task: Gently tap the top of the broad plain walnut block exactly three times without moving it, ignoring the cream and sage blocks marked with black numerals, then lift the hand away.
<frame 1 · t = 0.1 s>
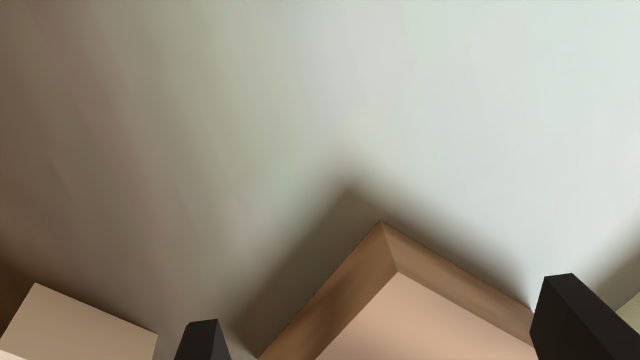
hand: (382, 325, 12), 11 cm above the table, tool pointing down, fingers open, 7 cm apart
plain walnut block: (392, 329, 27), on the table
numbered block one: (72, 346, 25), on the table
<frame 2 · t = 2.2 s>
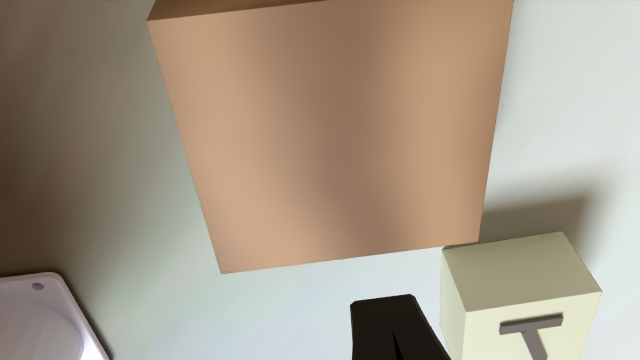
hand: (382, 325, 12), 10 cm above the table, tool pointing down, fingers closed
plain walnut block: (329, 93, 20), on the table
numbered block seven: (495, 277, 28), on the table
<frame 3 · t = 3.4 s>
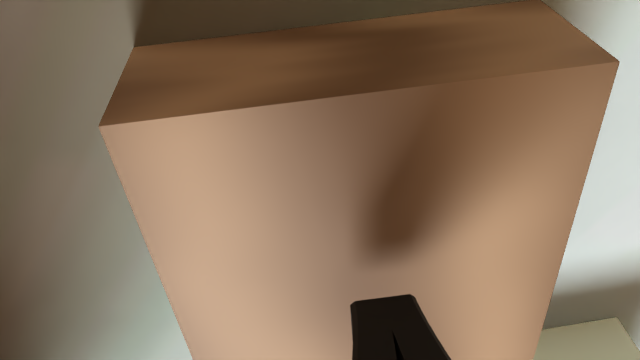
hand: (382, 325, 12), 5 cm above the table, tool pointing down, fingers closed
plain walnut block: (346, 175, 16), on the table
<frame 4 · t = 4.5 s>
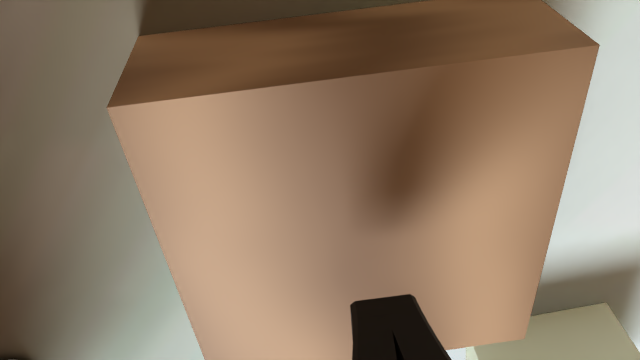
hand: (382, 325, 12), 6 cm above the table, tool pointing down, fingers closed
plain walnut block: (343, 161, 17), on the table
numbered block seven: (528, 351, 24), on the table
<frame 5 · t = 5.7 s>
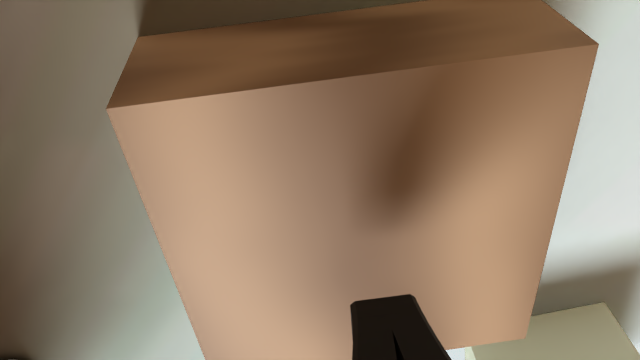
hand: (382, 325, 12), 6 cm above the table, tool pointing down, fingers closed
plain walnut block: (343, 161, 17), on the table
numbered block seven: (528, 351, 24), on the table
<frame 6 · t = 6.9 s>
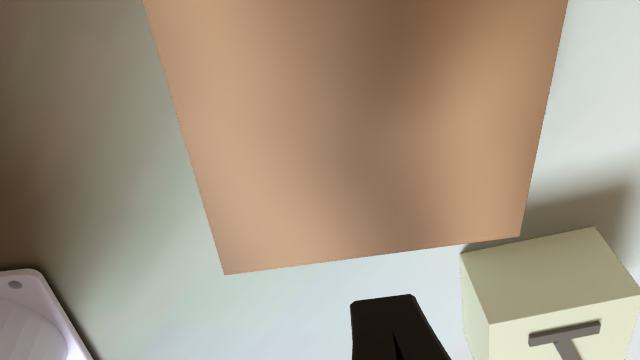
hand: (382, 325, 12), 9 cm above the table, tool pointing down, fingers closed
plain walnut block: (348, 67, 18), on the table
numbered block seven: (522, 280, 25), on the table
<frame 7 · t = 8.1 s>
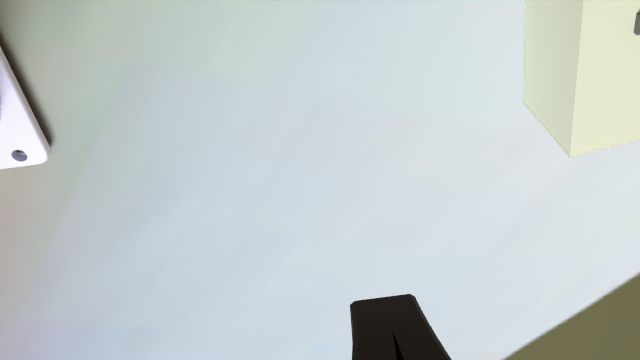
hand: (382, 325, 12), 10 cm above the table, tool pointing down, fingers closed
numbered block seven: (602, 10, 19), on the table
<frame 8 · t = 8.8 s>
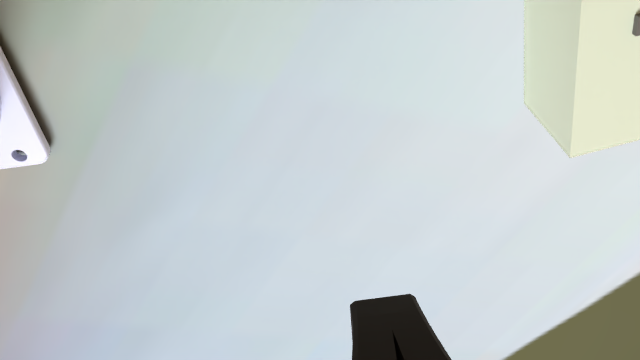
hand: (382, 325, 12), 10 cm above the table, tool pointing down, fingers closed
numbered block seven: (602, 10, 19), on the table
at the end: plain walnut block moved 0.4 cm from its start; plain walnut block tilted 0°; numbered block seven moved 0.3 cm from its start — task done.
